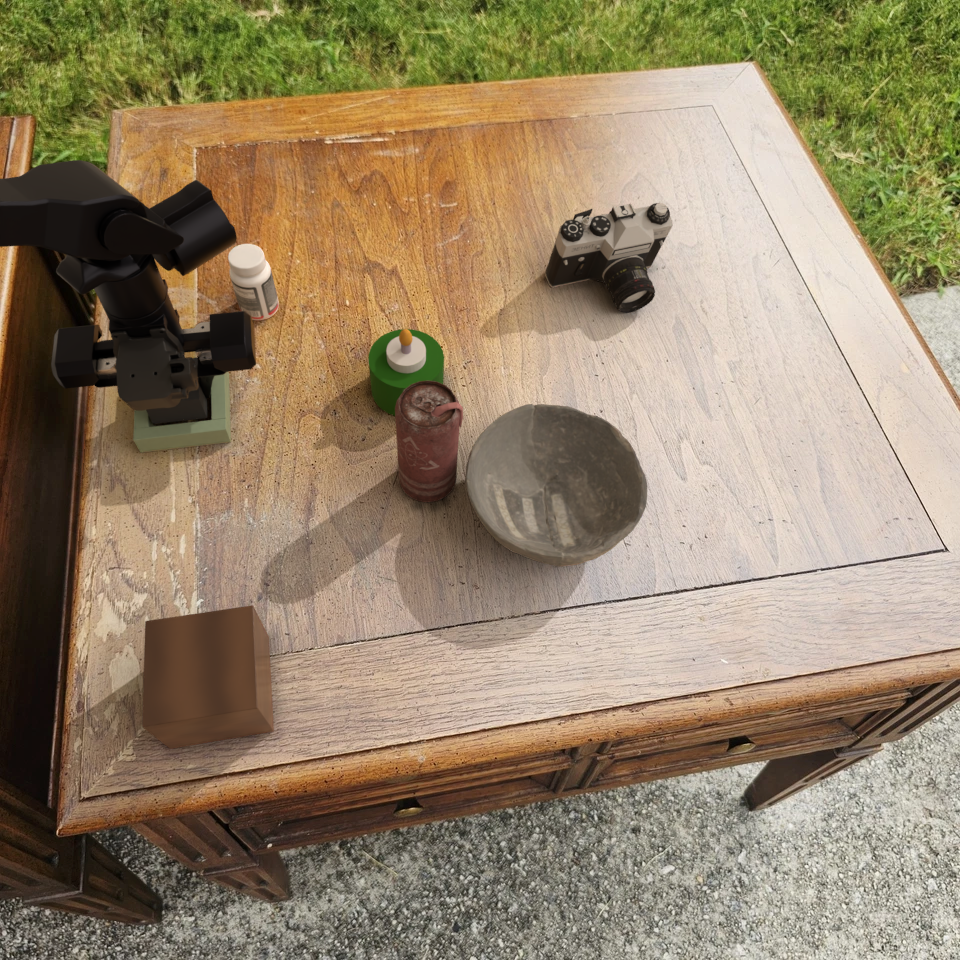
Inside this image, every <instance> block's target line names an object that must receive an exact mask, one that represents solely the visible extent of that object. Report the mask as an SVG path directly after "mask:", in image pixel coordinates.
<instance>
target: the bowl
mask: <svg viewBox="0 0 960 960" xmlns="http://www.w3.org/2000/svg"><path fill="white" fill-rule="evenodd" d="M464 479H465V480H464V481H465V487H466V491H467V496H468V499H469V501H470V504H471V506H472V509H473V511H474V512H475V513H474V514H475V515H476V516H477V518H478V520H479V521H480V523H481V524H482V526H483V527H484V528H485V530H486V531H487V533H489V534H490V536H491V537H492V538H493V539H494V540H495V541H496V542H497V543H499V544H500V545H501V546H503V547H504V548H505V549H507V550H509V551H510V552H513V553H515V554H518V555H519V556H522V557H524V558H526V559H528V560H532V561H535V562H538V563H541V564H545V565H550V566H555V567H558V568H560V567H569V566H570V567H571V566H577V565H581V564H584V563H587V562H590V561H594V560H595V559H598V558H600V557H601V556H604V555H605V554H607V553H608V552H610V551H611V550H612V549H615V547H616V546H618V544H619V543H620V542H622V541H623V540H624V539H626V538H627V537H628V536H629V535H630V534H631V533H632V532H633V531H634V529H635V528H636V527H637V525H638V524H639V522H640V521H641V519H642V517H643V515H644V512H645V510H646V508H647V502H648V481H647V477H646V474H645V472H644V470H643V468H642V465H641V463H640V460H639V458H638V456H637V453H636V450H635V449H634V447H633V446H632V443H631V442H630V441H629V440H628V439H627V438H626V437H624V436H623V433H622V432H621V431H620V430H619V429H618V427H616V426H614V425H613V424H612V423H611V422H610V421H608V420H606V419H605V418H602V417H601V416H597V415H594V414H588V413H586V412H585V411H581V410H579V409H577V408H574V407H572V406H569V405H559V404H558V405H556V404H545V403H540V404H539V403H538V404H533V403H529V404H524V405H521V406H518V407H516V408H513V409H511V410H509V411H507V412H505V413H504V414H502V415H500V416H499V417H497V418H496V419H495V420H494V421H493V422H492V423H491V424H489V425H488V426H487V427H485V429H484V430H483V432H481V433H480V435H479V436H478V437H477V439H476V440H475V442H474V444H473V445H472V447H471V450H470V452H469V455H468V458H467V462H466V466H465V478H464Z"/></svg>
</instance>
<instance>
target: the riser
mask: <svg viewBox="0 0 960 960" xmlns="http://www.w3.org/2000/svg"><path fill="white" fill-rule="evenodd" d="M143 650H144V652H143V654H144V655H143V685H142V716H141V717H142V719H141V720H142V721H141V727H142V728H143V729H144V730H145V731H147V732H148V733H149V734H150V735H152V736H153V737H154V738H156V739H157V740H158V741H159V742H161V743H162V744H163V745H165V746H166V747H167V748H168V749H170V750H172V749H177V748H185V747H189V746H196V745H201V744H208V743H213V742H219V741H225V740H231V739H237V738H238V739H239V738H243V737H248V736H255V735H260V734H267V733H272V732H275V728H274V727H275V725H274V723H275V722H274V708H273V707H274V706H273V705H274V704H273V688H272V687H273V686H272V669H271V668H272V667H271V666H272V665H271V646H270V636H269V634H268V632H267V631H266V628H265V626H264V624H263V622H262V621H261V618H260V615H259V614H258V611H257V610H256V608H255V606H254V605H253V604H252V605H246V606H245V605H244V606H240V607H232V608H226V609H218V610H212V611H211V610H210V611H204V612H199V613H193V614H192V613H191V614H184V615H178V616H171V617H170V616H169V617H164V618H156V619H150V620H149V619H148V620H145V621H144V649H143Z"/></svg>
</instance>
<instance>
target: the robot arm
mask: <svg viewBox="0 0 960 960" xmlns="http://www.w3.org/2000/svg"><path fill="white" fill-rule="evenodd" d="M237 239H238V237H237V231H236V228H235V227H234V224H232V223H231V221H230V220H229V218H228V216H227V215H226V213H225V211H224V210H223V208H222V207H221V206H220V205H219V204H218V202H217V201H216V199H214V195H213V191H212V190H211V189H210V188H209V187H208V186H206V185H205V184H203V182H201V181H199V180H198V179H195V180H193V181H190V182H189V183H187V184H186V185H185V186H183V188H181V189H180V190H179V191H177V192H176V193H174V194H172V195H171V196H168V197H166V199H163V200H161V201H160V202H158V203H156V204H155V205H153V206H151V207H148V206H147V205H145V204H144V203H143V202H142V201H140V199H139V198H138V197H136V196H135V195H133V194H132V192H130V191H128V190H127V189H126V188H124V187H123V186H122V185H121V184H119V182H118V181H116V180H114V179H113V178H112V177H110V176H109V175H108V174H107V173H105V172H104V171H103V170H102V169H100V168H99V167H98V166H96V165H95V164H93V163H91V162H90V161H85V160H81V159H76V160H75V159H74V160H66V161H59V162H52V163H45V164H38V165H36V166H34V167H33V168H31V169H30V170H28V171H25V172H24V173H23V174H22V175H18V176H12V177H5V178H0V248H4V247H22V246H23V247H24V246H26V247H38V248H43V249H47V250H50V251H54V252H56V253H60V254H63V255H66V256H65V257H64V259H62V260H61V261H60V262H59V264H58V266H57V267H56V270H55V273H56V274H57V275H58V276H59V277H60V278H61V279H62V280H63V281H65V282H66V283H67V284H68V285H69V286H71V287H72V289H74V290H75V291H76V292H77V293H78V294H80V295H86V294H88V293H90V292H91V291H93V290H94V292H95V294H96V296H97V298H98V300H99V302H100V304H101V306H102V309H103V310H104V312H105V314H106V316H107V318H108V331H109V333H110V337H111V339H105V340H104V339H103V340H100V339H101V338H102V336H103V331H102V329H101V327H100V325H99V324H90V325H79V326H69V327H60V328H58V329H57V330H56V332H55V333H54V337H53V346H52V354H51V355H52V356H51V364H50V367H51V372H52V375H53V377H54V378H55V380H56V381H57V383H58V384H59V386H61V387H62V388H64V389H67V390H68V389H75V388H84V387H86V388H87V387H93V386H94V387H95V388H97V389H98V388H99V389H101V388H102V389H103V388H111V387H117V395H118V397H119V399H121V401H123V402H124V403H125V404H126V405H127V406H129V407H130V408H131V409H132V410H136V411H143V410H147V409H155V408H170V407H174V406H176V405H178V404H179V402H180V400H181V399H184V398H185V399H186V398H188V393H189V392H190V391H194V390H197V389H198V378H199V377H200V381H201V386H202V391H203V394H204V396H205V398H206V399H207V400H209V399H210V400H211V388H212V382H213V379H214V376H218V375H224V374H225V373H226V372H228V373H231V372H239V371H248V370H252V369H253V368H254V367H255V366H256V365H257V355H256V354H257V352H256V351H257V350H256V333H255V324H254V320H252V317H251V315H250V314H248V313H247V312H246V311H239V310H238V311H230V312H229V311H228V312H218V313H210V314H209V321H202V322H199V323H197V324H196V325H195V327H193V328H182V326H181V324H180V323H181V322H180V314H179V312H178V310H177V309H175V308H174V306H173V302H172V300H171V298H170V295H169V285H168V283H167V281H166V279H163V277H162V275H161V272H160V270H159V267H158V265H157V264H159V266H160V267H161V268H163V269H164V270H165V271H168V272H171V271H173V270H176V271H177V272H178V273H179V274H180V276H182V277H185V276H186V275H188V274H190V273H192V272H193V271H195V270H197V269H199V267H201V266H203V265H204V264H206V263H207V262H209V261H211V260H212V259H214V258H216V256H218V255H220V254H222V253H224V252H225V251H227V250H228V249H230V248H231V247H233V246H234V245H236V243H237ZM99 340H100V341H99ZM185 353H195V355H196V358H197V365H198V377H197V367H196V363H195V361H194V359H193V358H194V357H192V356H189V357H186V354H185Z"/></svg>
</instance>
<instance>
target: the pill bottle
mask: <svg viewBox="0 0 960 960" xmlns="http://www.w3.org/2000/svg"><path fill="white" fill-rule="evenodd" d="M227 260H228V261H227V262H228V265H229V270H228V271H229V273H228V274H229V278H230V282H231V284H232V288H233V292H234V295H235V298H236V302H237V304H238V309H239V310H240V311H246V312H247V313H248V314H250V315H251V317H252V320H253V321H264V320H267V319H270V318H271V317H273V316H274V315H275V314H276V313H277V312H278V311H279V307H280V302H279V297H278V292H277V288H276V284H275V280H274V277H273V276H274V275H273V271H272V268H271V265H270V263H269V262H268V261H267V260H266V256H265V253H264V251H263V249H262V247H260V246H258V245H257V244H254V243H242V244H239V245H236V246H234V247H233V248H231V250H230V251H229V253H228V255H227Z"/></svg>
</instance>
